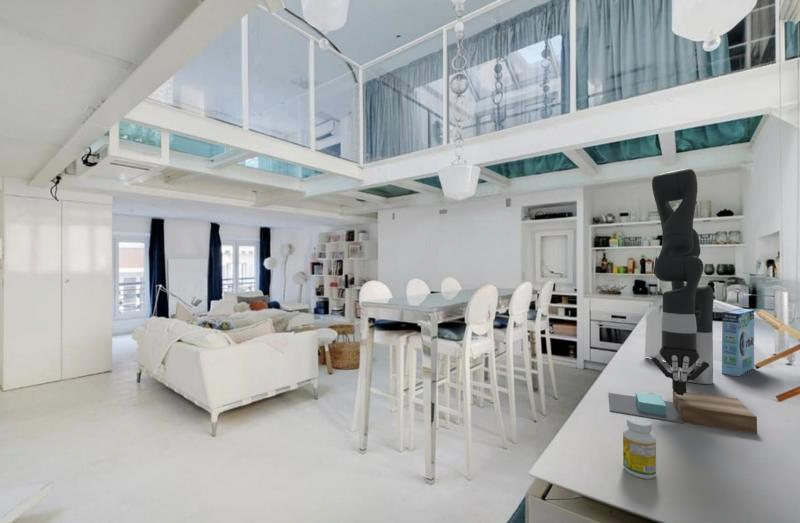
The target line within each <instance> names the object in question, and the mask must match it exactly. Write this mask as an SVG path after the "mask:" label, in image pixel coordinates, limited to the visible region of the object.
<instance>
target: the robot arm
mask: <svg viewBox="0 0 800 523" xmlns="http://www.w3.org/2000/svg"><path fill="white" fill-rule="evenodd" d="M651 188H652V194H653V196H654V201H655V206H656V210H657V213H658V217H659V221H660V224H661V231H662V235H661V236H662V240H661V241H662V245H661V248H660V253H659V254H658V257H657V259H656V261H655V263H654V267H653V272H654V276H655V277H656V278H657V279H658V280H659V281H661V282H667V283H668V282H671V290H665V291H664V292H663V293H662V299H663V314H662V348H661V349H660V353H659V354H657V355H656V356H652V357H651V359H652V360H651V361H652V363H654V365H655V366H656V367H657V368H658V369H659V370H660V372H662V374H663V375H664V376H665V377H666V378H670V379H671V380H672V381H671V382H672V383H671V384H672V385H671V386H672V387H671V388H672V392H673V391H674V392H675V393H676V394H677V395H683V393H686V392H687V382H689V383H693V384H694V383H695V384H700V385H701V384H702V385H711V384H713V383H714V359H713V358H714V342H713V341H714V340H713V339H714V338H713V337H714V336H713V335H714V334H713V333H714V331H713V330H714V329H713V323H714V321H713V319H714V318H713V317H714V316H713V315H714V314H713V313H714V301H715V300H714V299H715V297H714V296H715V295H714V289H713V287H712V286H711V285H709V284H699V283H700V280H701V278H702V275H703V273H704V262H703V261H702V259H701V258H699V257H700V255H701V243H700V238H699V234H698V232H697V231H696V229H695V228H694V217H695V213H696V212H695V211H696V206H697V197H698V178H697V175H696V173H695V170H693V169H692V168H682V169H678V170H677V169H676V170H673V171H667V172H663V173H658V174H655V175H654V176H653V178H652V180H651ZM676 201H681V202H680V203H679V205H678V206H677V207H676V209H675V210H674V209H673V207H672V206H671V204H670V202H676ZM696 312H699V314H698V315H697V316H696ZM662 357H663V358H664V360H665V361H666V362H667V363H666V364H667V365H668V366H669V367H670V371H668V369H667V368H666V367H665V366H664V365H663V362H662V359H661V358H662Z"/></svg>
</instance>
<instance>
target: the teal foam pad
mask: <svg viewBox="0 0 800 523" xmlns="http://www.w3.org/2000/svg"><path fill="white" fill-rule="evenodd" d="M635 397H636V403H637V406H638V409H639V411H641V412H647V413H654V414H660V415H666V404H665V403H664V401H665V400H664V398H663V397H662V394H661V395H660V394H655V393H654V394H653V393H646V392H639V391H638V392H637V391H635Z"/></svg>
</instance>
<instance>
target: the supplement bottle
mask: <svg viewBox="0 0 800 523" xmlns="http://www.w3.org/2000/svg"><path fill="white" fill-rule="evenodd" d="M626 426H627V427H625V429H624V430H623V431H622V446H623V447H622V448H623V449H622V453H623V454H622V460H623V461H622V462H623V468H624V470H625V471H626V472H627V473H629V474H630V475H632V476H634V477H637V478H641V479H648V480H649V479H650V480H651V479H654V478H655V477H656V475H657V439H656V436H655V435H654V434H653V433H652V431H653V427H652V426H653V425H652V422H650V421H649V420H647V419H645V418H643V417H638V416H634V417H633V416H630V417H629V416H628V417H627V418H626Z"/></svg>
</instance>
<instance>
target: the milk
mask: <svg viewBox="0 0 800 523" xmlns="http://www.w3.org/2000/svg"><path fill="white" fill-rule="evenodd" d="M662 314H663V298H660V302H659V305H657V306H656V307H655V308H654V309H652V310H651V311H650V312H648V313H647V315H646V318H645V342H644V343H645V344H644V358H645V357H649V358H651V357H652V356H656V355H657V354H659V353H660V349H661V348H662ZM661 359H662V360H664V358H663V357H662V358H661ZM664 361H665V360H664Z"/></svg>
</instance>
